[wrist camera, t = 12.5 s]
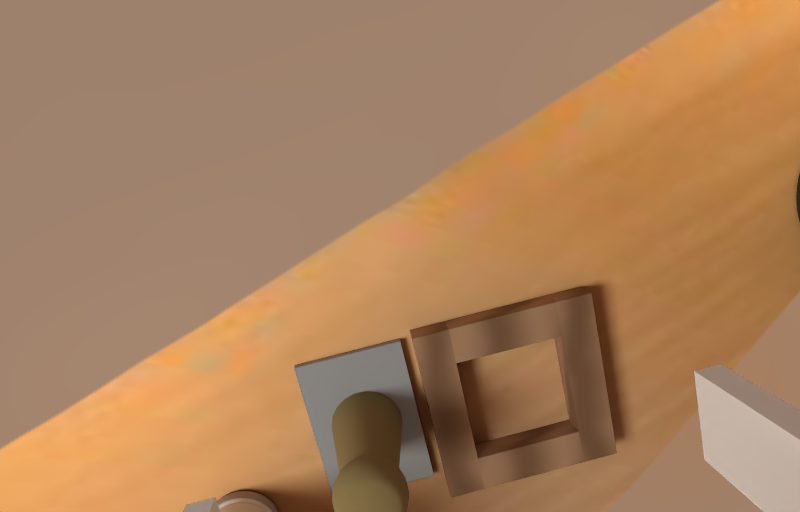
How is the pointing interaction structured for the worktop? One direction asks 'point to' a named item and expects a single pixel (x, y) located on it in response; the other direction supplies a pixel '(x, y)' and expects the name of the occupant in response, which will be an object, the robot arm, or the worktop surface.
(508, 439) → the walnut holder
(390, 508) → the cork
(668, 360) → the worktop surface
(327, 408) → the grey mat
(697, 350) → the worktop surface
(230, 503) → the travel mug
